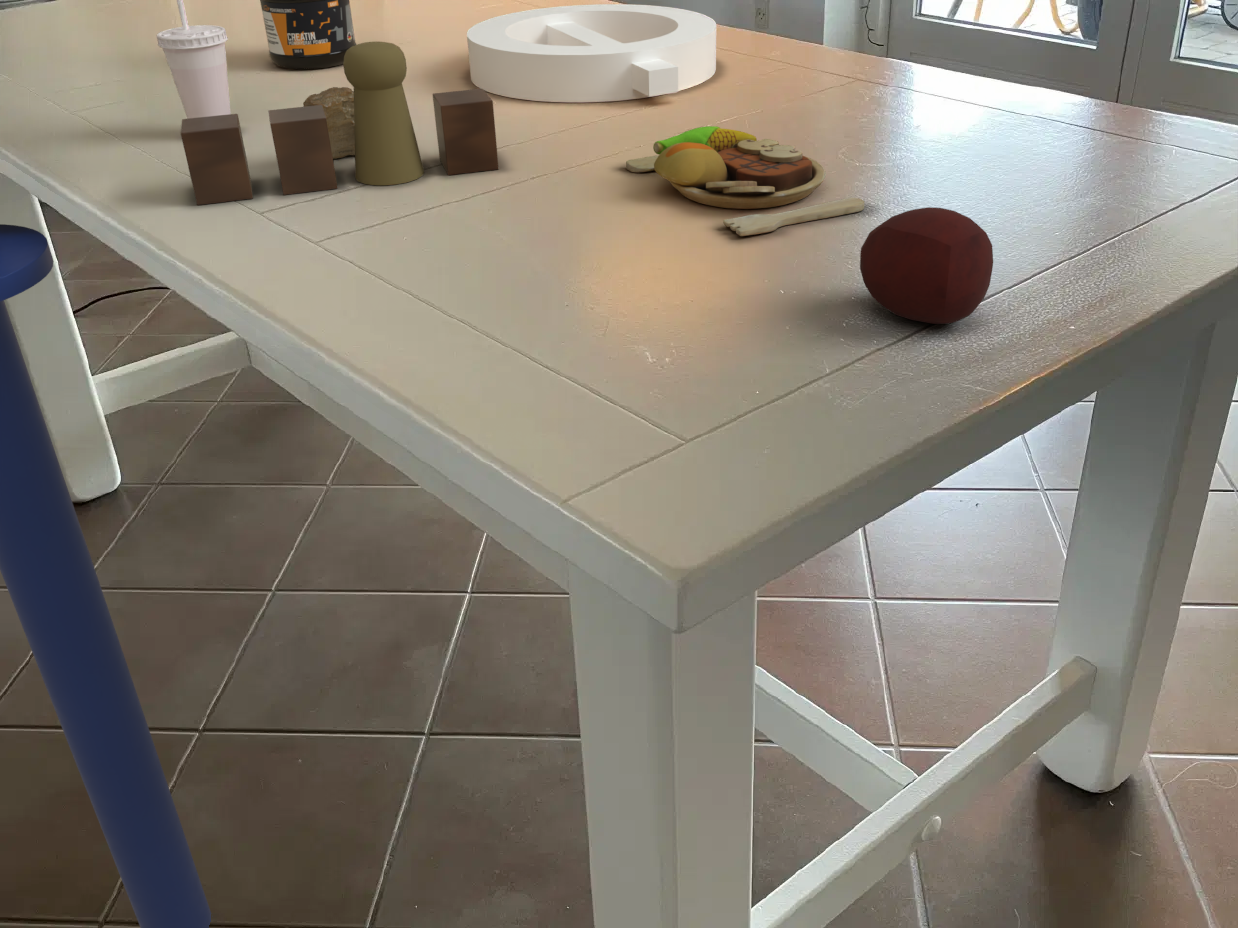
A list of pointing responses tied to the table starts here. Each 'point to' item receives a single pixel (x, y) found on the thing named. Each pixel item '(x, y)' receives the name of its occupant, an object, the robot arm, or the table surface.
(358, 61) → the olive round-topped cone
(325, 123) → the block
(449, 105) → the block
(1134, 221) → the table surface
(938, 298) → the potato
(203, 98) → the smoothie
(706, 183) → the toy food set
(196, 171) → the block
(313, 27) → the supplement container
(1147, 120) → the table surface
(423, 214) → the table surface
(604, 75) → the white circle with bar
